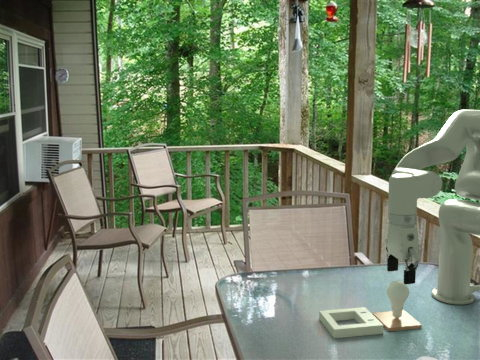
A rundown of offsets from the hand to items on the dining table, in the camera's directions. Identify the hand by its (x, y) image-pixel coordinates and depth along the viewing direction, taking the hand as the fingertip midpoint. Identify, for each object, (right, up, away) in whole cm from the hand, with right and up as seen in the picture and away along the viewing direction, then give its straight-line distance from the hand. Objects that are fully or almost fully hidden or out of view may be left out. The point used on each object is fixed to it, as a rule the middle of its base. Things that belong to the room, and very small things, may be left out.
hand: (400, 276), depth 147 cm
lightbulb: (0, -12, +2) cm, 12 cm away
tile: (-1, -13, +2) cm, 13 cm away
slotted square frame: (-14, -14, -1) cm, 20 cm away
